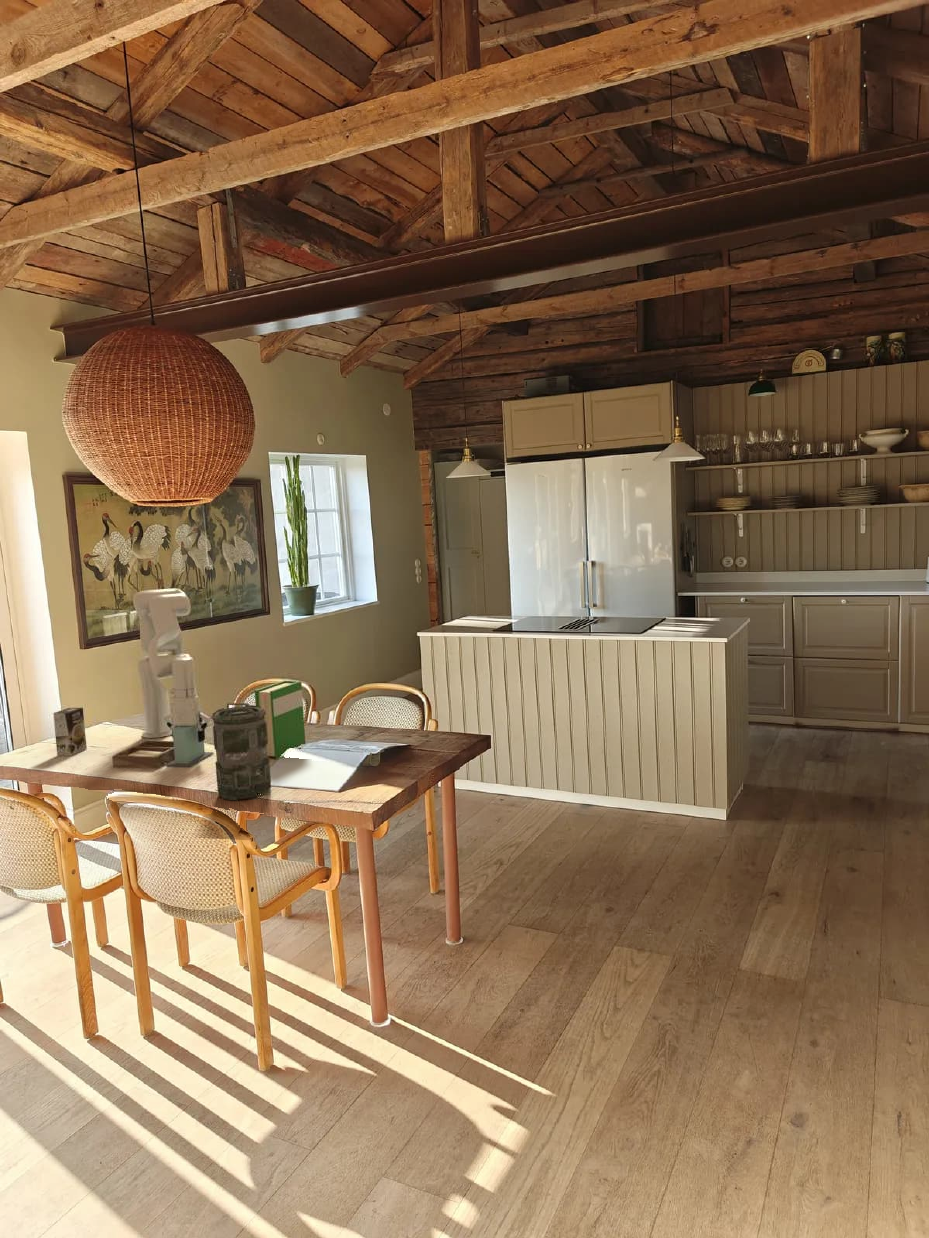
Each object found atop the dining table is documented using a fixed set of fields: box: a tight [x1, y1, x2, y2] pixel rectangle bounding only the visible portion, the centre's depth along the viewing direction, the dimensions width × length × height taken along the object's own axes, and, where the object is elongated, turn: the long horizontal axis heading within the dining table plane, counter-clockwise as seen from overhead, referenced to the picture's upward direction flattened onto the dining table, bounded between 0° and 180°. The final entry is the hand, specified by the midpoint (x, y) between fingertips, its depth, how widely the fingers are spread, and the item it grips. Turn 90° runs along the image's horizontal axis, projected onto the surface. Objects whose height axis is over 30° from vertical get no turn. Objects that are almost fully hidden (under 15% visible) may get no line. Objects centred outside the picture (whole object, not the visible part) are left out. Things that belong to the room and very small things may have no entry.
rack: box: [111, 740, 175, 770], centre depth 306 cm, size 20×17×4 cm
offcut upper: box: [128, 750, 163, 756], centre depth 302 cm, size 6×10×2 cm, turn 68°
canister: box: [211, 702, 272, 801], centre depth 263 cm, size 16×16×28 cm
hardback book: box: [254, 679, 306, 759], centre depth 308 cm, size 18×7×24 cm, turn 157°
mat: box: [165, 751, 214, 768], centre depth 304 cm, size 16×9×1 cm, turn 167°
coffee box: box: [52, 707, 87, 757], centre depth 320 cm, size 9×6×16 cm
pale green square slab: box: [172, 726, 206, 764], centre depth 303 cm, size 4×12×12 cm, turn 167°
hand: (189, 740), depth 303 cm, fingers open, 9 cm apart
